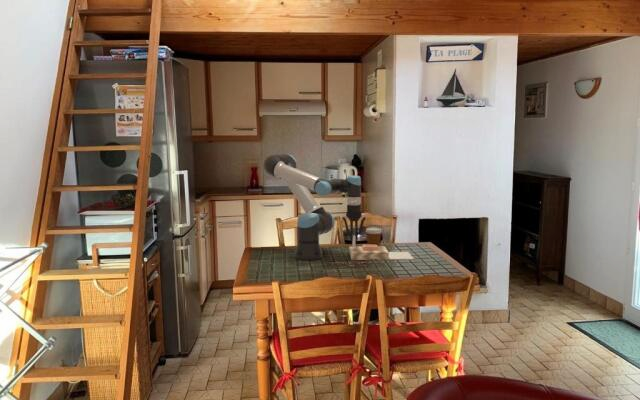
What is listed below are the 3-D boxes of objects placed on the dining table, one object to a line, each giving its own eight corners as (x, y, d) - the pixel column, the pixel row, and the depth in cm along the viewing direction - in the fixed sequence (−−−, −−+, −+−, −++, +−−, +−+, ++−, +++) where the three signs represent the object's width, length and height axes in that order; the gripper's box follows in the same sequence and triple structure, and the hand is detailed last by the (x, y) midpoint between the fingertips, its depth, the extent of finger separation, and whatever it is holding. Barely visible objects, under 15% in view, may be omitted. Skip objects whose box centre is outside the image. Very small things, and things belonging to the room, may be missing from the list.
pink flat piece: (363, 250, 261) (363, 247, 261) (362, 248, 267) (362, 244, 267) (378, 250, 261) (378, 247, 261) (376, 248, 267) (376, 244, 267)
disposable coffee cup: (378, 251, 275) (378, 231, 274) (363, 249, 279) (363, 229, 278) (383, 248, 284) (384, 228, 282) (368, 246, 288) (368, 226, 286)
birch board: (351, 259, 258) (351, 252, 257) (349, 253, 271) (349, 246, 271) (388, 259, 258) (388, 252, 257) (384, 253, 272) (384, 246, 271)
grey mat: (389, 259, 257) (389, 258, 257) (385, 252, 272) (385, 251, 272) (413, 259, 258) (413, 258, 258) (408, 252, 273) (408, 251, 272)
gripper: (342, 205, 257) (342, 248, 260) (366, 205, 257) (366, 248, 260) (341, 203, 264) (341, 245, 267) (365, 203, 264) (365, 245, 267)
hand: (353, 246), depth 264 cm, fingers closed
